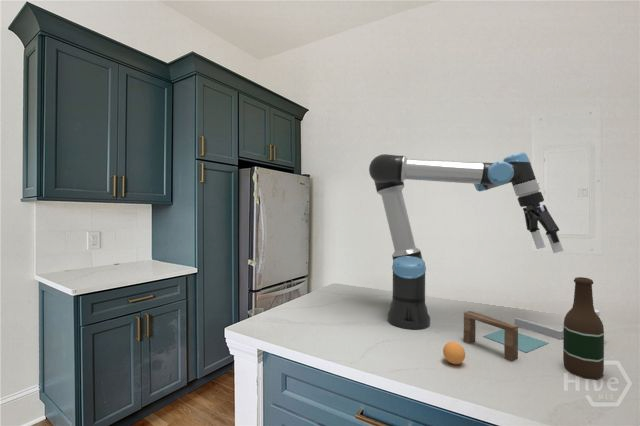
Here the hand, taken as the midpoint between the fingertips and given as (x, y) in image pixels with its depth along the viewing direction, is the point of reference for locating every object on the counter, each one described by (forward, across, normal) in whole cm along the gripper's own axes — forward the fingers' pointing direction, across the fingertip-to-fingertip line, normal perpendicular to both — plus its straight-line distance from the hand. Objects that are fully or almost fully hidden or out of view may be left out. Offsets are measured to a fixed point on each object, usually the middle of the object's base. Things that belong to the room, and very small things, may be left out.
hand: (549, 249), depth 108 cm
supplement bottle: (+29, -10, +2) cm, 31 cm away
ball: (+13, -38, +43) cm, 59 cm away
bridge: (+18, -27, +33) cm, 47 cm away
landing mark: (+21, -17, +24) cm, 36 cm away
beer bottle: (+25, -34, +14) cm, 45 cm away
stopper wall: (+24, -7, +14) cm, 29 cm away
